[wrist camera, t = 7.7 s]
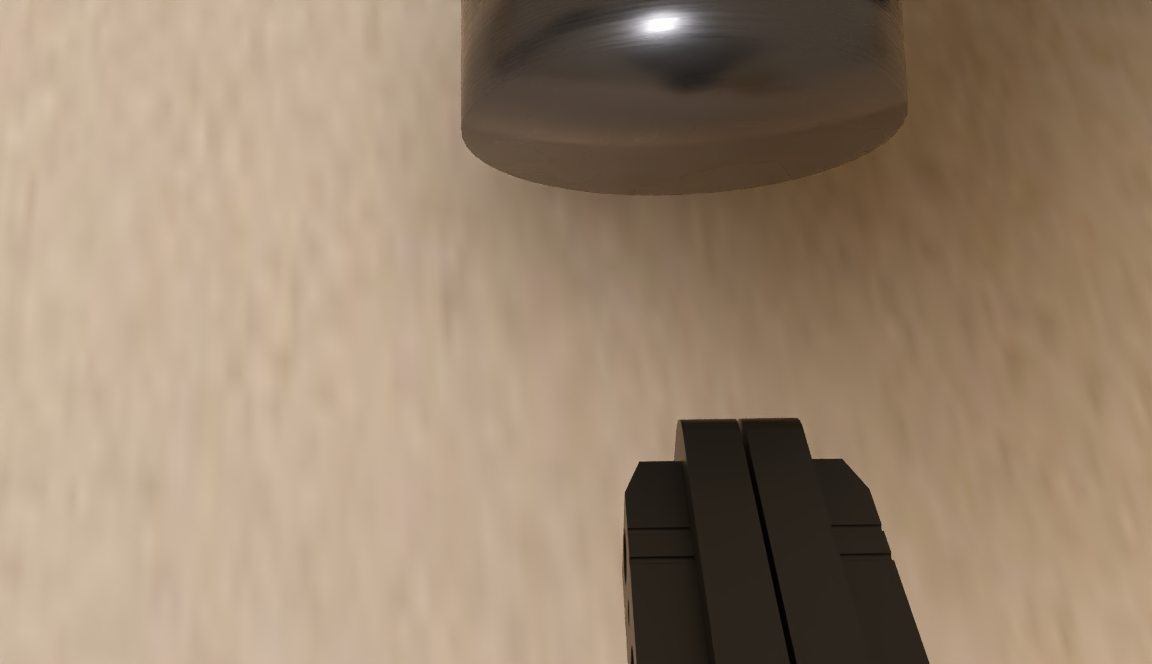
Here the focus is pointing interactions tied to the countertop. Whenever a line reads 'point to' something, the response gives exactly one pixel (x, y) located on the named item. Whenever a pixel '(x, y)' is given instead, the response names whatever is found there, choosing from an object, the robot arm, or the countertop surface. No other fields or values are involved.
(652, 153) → the knob
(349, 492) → the countertop surface
